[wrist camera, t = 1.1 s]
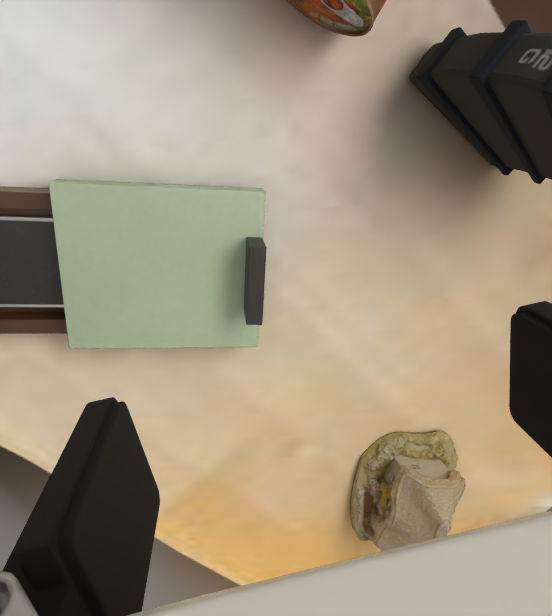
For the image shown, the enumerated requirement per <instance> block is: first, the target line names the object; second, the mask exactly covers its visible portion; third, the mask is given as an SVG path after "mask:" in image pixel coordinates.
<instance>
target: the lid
mask: <svg viewBox="0 0 552 616" xmlns="http://www.w3.org/2000/svg"><path fill="white" fill-rule="evenodd" d="M49 190H50V198H51V206H52V214H53V222H54V230H55V238H56V246H57V254H58V262H59V270H60V278H61V286H62V294H63V302H64V310H65V318H66V326H67V334H68V342H69V348H204V347H258V329H259V325H262V318H263V299H264V281H265V262H266V246H265V244H264V241H263V230H264V210H265V191H264V190H263V189H262V188H240V187H218V186H196V185H175V184H153V183H131V182H109V181H87V180H65V179H56V180H53V181H50V182H49Z"/></svg>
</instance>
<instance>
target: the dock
mask: <svg viewBox="0 0 552 616" xmlns="http://www.w3.org/2000/svg"><path fill="white" fill-rule="evenodd" d="M0 214H12V215H41V216H53V214H52V206H51V198H50V190H49V189H47V188H24V187H1V186H0ZM0 333H67V326H66V318H65V310H64V308H57V307H0Z"/></svg>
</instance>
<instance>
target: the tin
mask: <svg viewBox="0 0 552 616" xmlns="http://www.w3.org/2000/svg"><path fill="white" fill-rule="evenodd" d="M287 1H288V2H289V3H290V4H292V5H293V6H294V7H295V8H297V9H298V10H299V11H300V12H302V13H303V14H304V15H306V16H307V17H308V18H310V19H311V20H313V21H314V22H316V23H318V24H320V25H321V26H323V27H325V28H327V29H329V30H331V31H333V32H336V33H339V34H342V35H347V36H362V35H365V34H367V33H368V32H369V31H370V30H371V28H372V26H373V22H374V20H375V19H376V17H377V15H378V13H379V12H380V10H381V9H382V7H383V5H384V3H385V2H386V0H287Z"/></svg>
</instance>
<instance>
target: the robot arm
mask: <svg viewBox="0 0 552 616" xmlns="http://www.w3.org/2000/svg"><path fill="white" fill-rule="evenodd" d="M509 406H510V412H511V415H512V417H513V419H514V421H515V422H516V423H517V424H518V425H519V426H520V427H521V428H522V429H523V430H524V431H525V432H526V433H527V434H528V435H529V436H530V437H531V438H532V439H533V440H534V441H535V442H536V443H537V444H538V445H539V446H540V447H541V448H542V449H543V450H544V451H546V452H547V453H548V454H549V455H550V456H551V457H552V304H551V303H549V302H546V301H543V302H539V303H534V304H530V305H525V306H521V307H519V308H518V310H517V312H516V314H514V315H512V317H511V336H510V405H509ZM159 505H160V497H159V491H158V488H157V485H156V482H155V480H154V477H153V474H152V472H151V469H150V466H149V464H148V461H147V458H146V456H145V453H144V450H143V448H142V445H141V442H140V440H139V437H138V434H137V432H136V429H135V426H134V424H133V421H132V418H131V416H130V413H129V410H128V408H127V405H126V404H125V402H123V401H122V402H118V401H117V400H116V399H115V398H113V397H112V398H107V399H103V400H98V401H94V402H90V403H88V404H87V405H86V407H85V409H84V411H83V413H82V415H81V416H80V418H79V420H78V422H77V424H76V426H75V428H74V430H73V432H72V434H71V436H70V438H69V440H68V442H67V444H66V446H65V448H64V450H63V452H62V454H61V456H60V458H59V460H58V462H57V464H56V466H55V468H54V470H53V472H52V474H51V475H50V477H49V480H48V481H47V483H46V485H45V487H44V489H43V492H42V493H41V495H40V498H39V499H38V501H37V503H36V505H35V507H34V509H33V511H32V513H31V515H30V517H29V519H28V521H27V523H26V525H25V527H24V529H23V531H22V533H21V535H20V537H19V539H18V541H17V543H16V545H15V547H14V549H13V551H12V553H11V555H10V557H9V559H8V561H7V563H6V565H5V567H4V569H3V571H0V616H552V511H550V512H545V513H541V514H537V515H532V516H528V517H524V518H520V519H515V520H511V521H507V522H503V523H498V524H494V525H490V526H486V527H482V528H477V529H473V530H469V531H465V532H461V533H457V534H452V535H448V536H444V537H440V538H436V539H431V540H427V541H423V542H419V543H415V544H411V545H407V546H402V547H398V548H394V549H390V550H386V551H382V552H378V553H373V554H369V555H365V556H361V557H357V558H353V559H349V560H344V561H340V562H336V563H332V564H328V565H324V566H320V567H316V568H312V569H308V570H304V571H300V572H296V573H292V574H288V575H284V576H280V577H275V578H271V579H267V580H263V581H259V582H255V583H251V584H247V585H243V586H239V587H235V588H231V589H227V590H223V591H219V592H215V593H211V594H207V595H203V596H199V597H195V598H191V599H188V600H183V601H179V602H176V603H172V604H168V605H164V606H160V607H156V608H152V609H149V610H145V611H142V606H143V600H144V593H145V588H146V582H147V576H148V571H149V564H150V558H151V553H152V546H153V541H154V535H155V529H156V523H157V517H158V511H159Z"/></svg>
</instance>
